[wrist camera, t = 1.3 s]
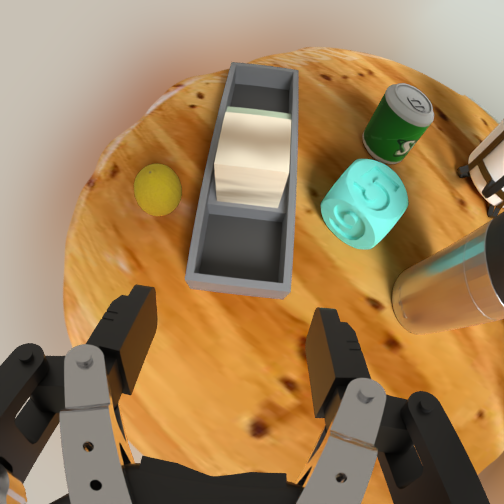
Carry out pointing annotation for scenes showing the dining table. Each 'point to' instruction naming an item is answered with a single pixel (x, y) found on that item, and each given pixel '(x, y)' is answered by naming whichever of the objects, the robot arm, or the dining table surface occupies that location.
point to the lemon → (157, 189)
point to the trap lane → (242, 215)
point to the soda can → (397, 123)
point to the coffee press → (488, 169)
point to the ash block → (252, 159)
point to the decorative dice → (364, 203)
